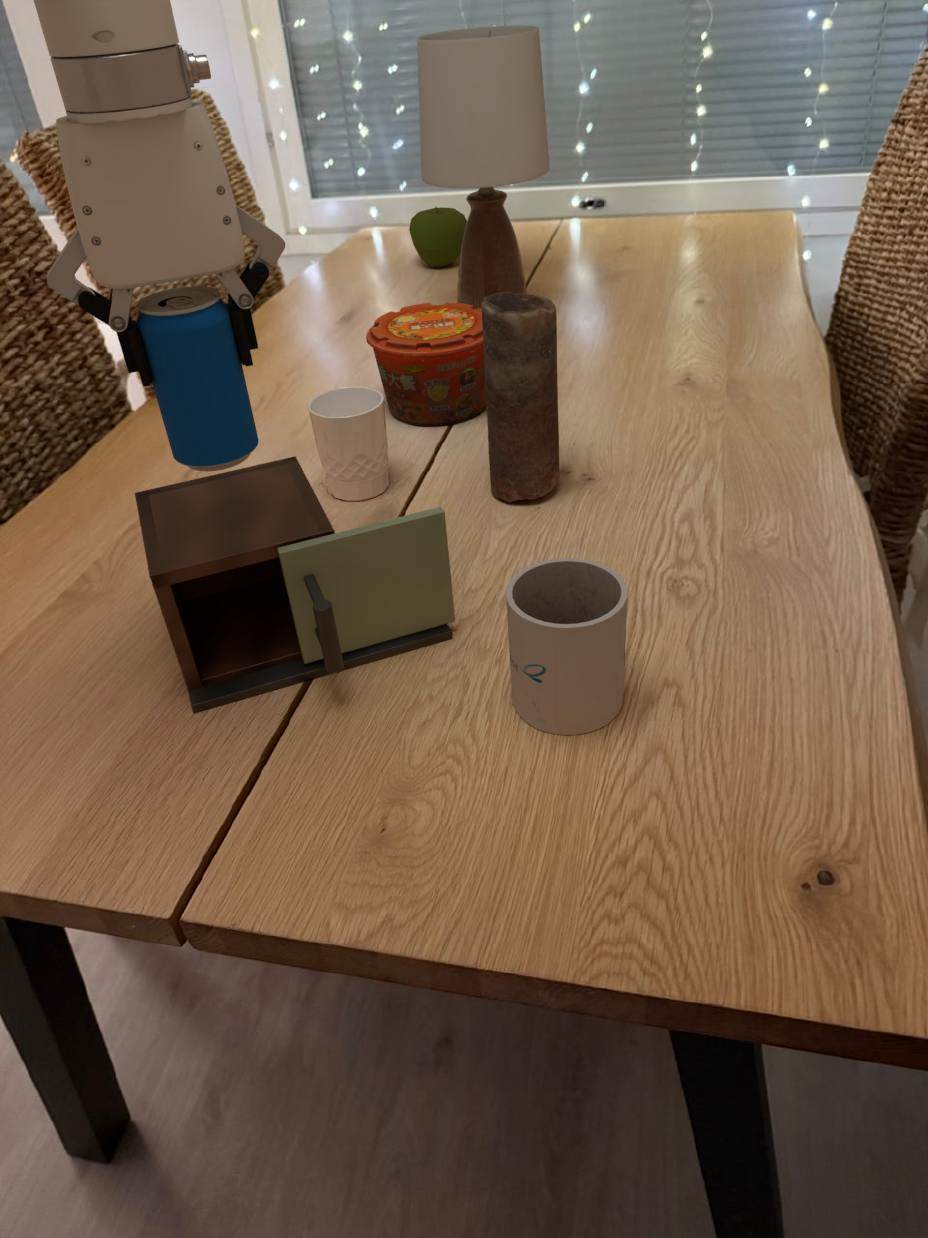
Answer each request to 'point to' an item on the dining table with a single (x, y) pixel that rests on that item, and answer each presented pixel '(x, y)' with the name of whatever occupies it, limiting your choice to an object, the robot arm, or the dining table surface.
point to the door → (368, 585)
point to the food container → (431, 362)
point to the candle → (521, 394)
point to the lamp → (483, 140)
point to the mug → (567, 644)
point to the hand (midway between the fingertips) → (196, 367)
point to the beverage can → (197, 377)
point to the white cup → (351, 441)
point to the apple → (438, 235)
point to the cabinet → (239, 580)
